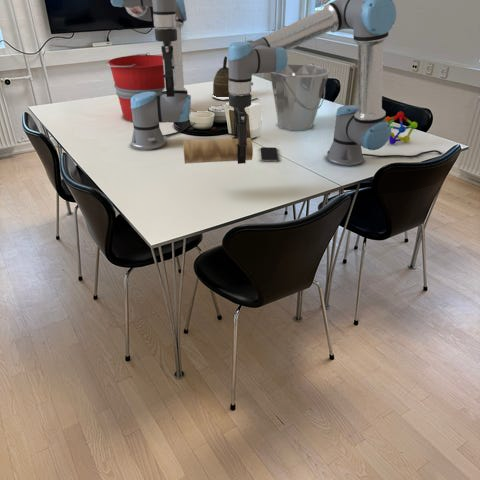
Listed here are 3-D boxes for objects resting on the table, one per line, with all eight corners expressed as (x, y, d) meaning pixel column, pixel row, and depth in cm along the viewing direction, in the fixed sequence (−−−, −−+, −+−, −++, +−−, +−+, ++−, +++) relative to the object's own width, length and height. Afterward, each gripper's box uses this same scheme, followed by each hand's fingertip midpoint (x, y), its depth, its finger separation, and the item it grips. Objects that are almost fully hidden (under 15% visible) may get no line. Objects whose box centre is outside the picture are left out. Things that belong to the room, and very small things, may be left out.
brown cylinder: (185, 166, 153) (183, 145, 149) (184, 158, 159) (182, 137, 155) (252, 163, 156) (252, 142, 152) (249, 155, 162) (249, 134, 158)
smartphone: (261, 159, 190) (260, 147, 203) (261, 161, 190) (260, 148, 203) (278, 159, 190) (276, 147, 202) (278, 161, 190) (276, 148, 203)
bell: (227, 105, 294) (202, 96, 282) (238, 66, 289) (213, 55, 277) (243, 108, 280) (217, 98, 268) (255, 66, 275) (229, 55, 263)
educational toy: (377, 146, 209) (379, 114, 202) (384, 138, 219) (386, 107, 211) (411, 149, 202) (415, 116, 195) (417, 141, 212) (420, 109, 204)
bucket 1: (122, 106, 262) (115, 52, 246) (181, 107, 261) (178, 52, 245) (105, 124, 232) (96, 64, 216) (172, 125, 231) (167, 64, 216)
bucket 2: (296, 138, 215) (301, 78, 201) (255, 124, 234) (256, 68, 219) (335, 125, 232) (342, 70, 217) (294, 113, 251) (297, 61, 236)
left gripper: (177, 32, 141) (181, 100, 152) (176, 24, 162) (180, 84, 173) (153, 32, 140) (159, 100, 151) (155, 24, 161) (160, 84, 172)
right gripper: (256, 101, 138) (255, 169, 150) (246, 85, 155) (245, 148, 167) (232, 102, 137) (233, 170, 149) (225, 86, 154) (226, 149, 166)
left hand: (170, 92), depth 162 cm, fingers open, 13 cm apart
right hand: (239, 158), depth 158 cm, fingers closed on brown cylinder, 8 cm apart
